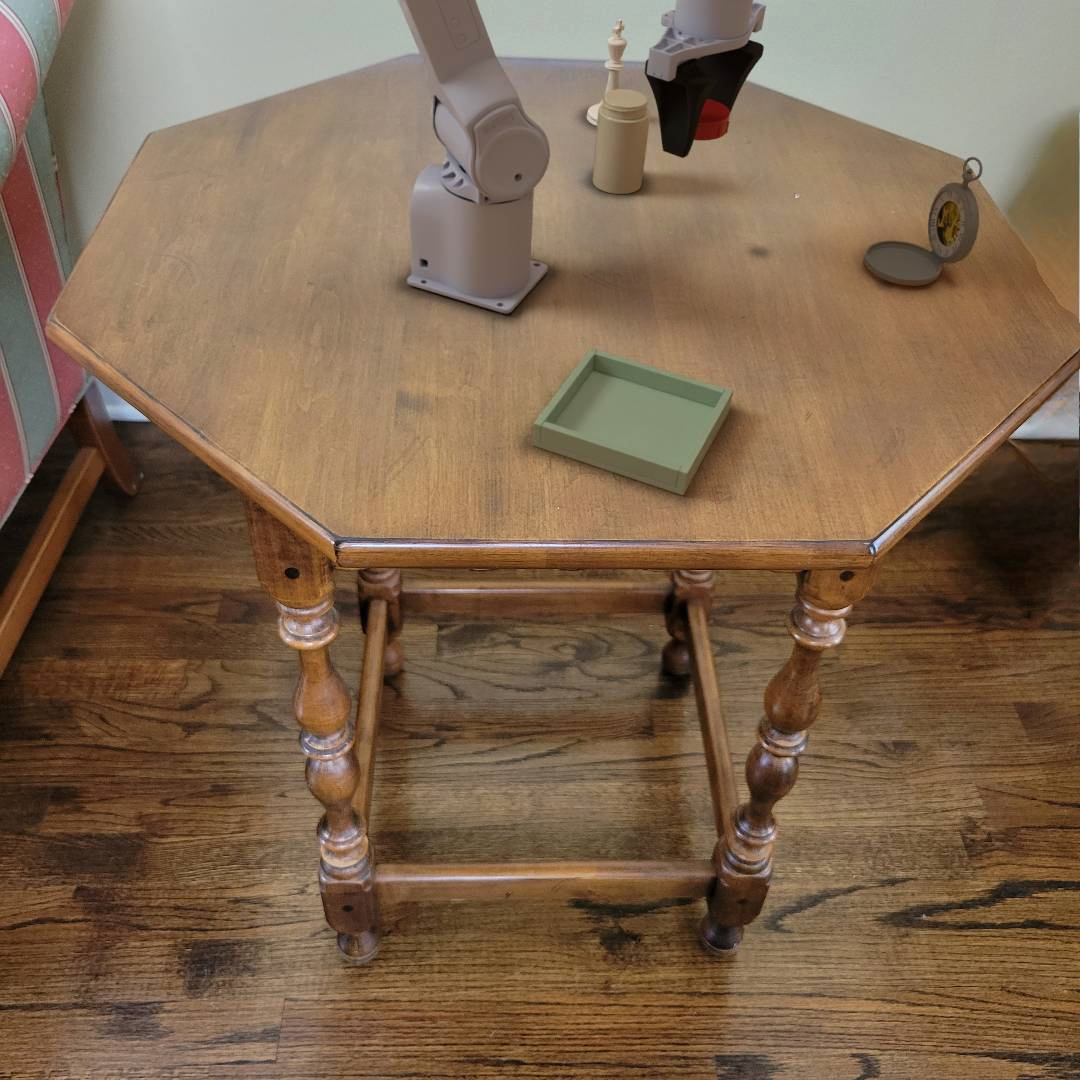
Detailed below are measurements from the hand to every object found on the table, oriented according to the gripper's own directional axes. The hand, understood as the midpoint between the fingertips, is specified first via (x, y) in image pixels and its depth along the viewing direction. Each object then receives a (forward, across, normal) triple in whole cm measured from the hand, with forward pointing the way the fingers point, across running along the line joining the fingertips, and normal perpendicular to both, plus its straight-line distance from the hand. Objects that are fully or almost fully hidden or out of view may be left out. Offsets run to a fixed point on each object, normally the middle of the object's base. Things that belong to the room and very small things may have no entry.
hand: (692, 141), depth 88 cm
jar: (+10, -6, -11) cm, 16 cm away
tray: (+10, +24, +11) cm, 28 cm away
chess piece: (+10, -18, -19) cm, 28 cm away
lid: (-2, 0, 0) cm, 2 cm away
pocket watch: (+10, -10, +18) cm, 23 cm away
